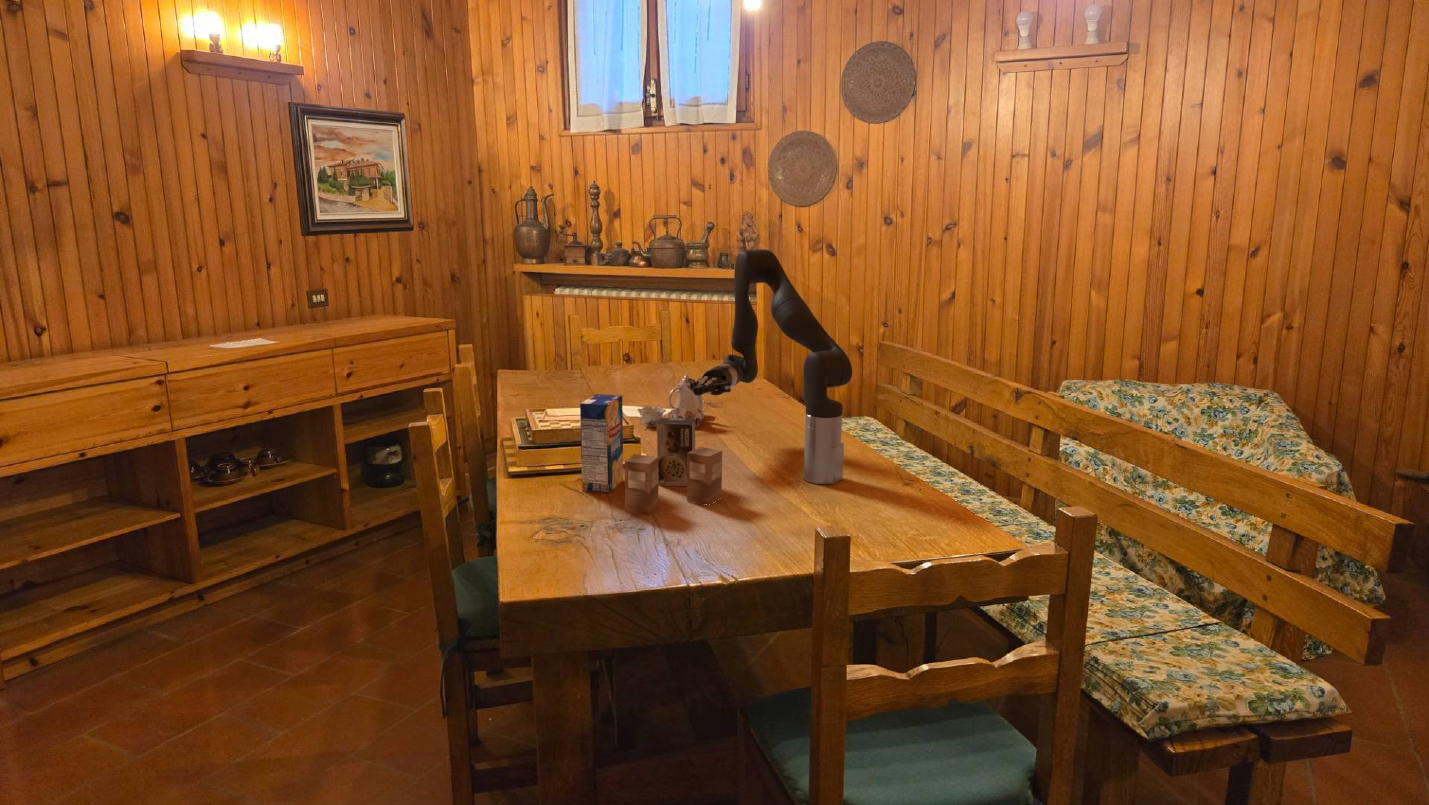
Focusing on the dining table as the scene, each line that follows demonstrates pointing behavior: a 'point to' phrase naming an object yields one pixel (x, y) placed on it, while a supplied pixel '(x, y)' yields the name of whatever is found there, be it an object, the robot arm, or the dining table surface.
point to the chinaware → (676, 406)
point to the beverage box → (601, 443)
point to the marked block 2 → (704, 475)
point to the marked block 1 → (641, 484)
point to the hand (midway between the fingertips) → (697, 391)
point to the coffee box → (674, 449)
